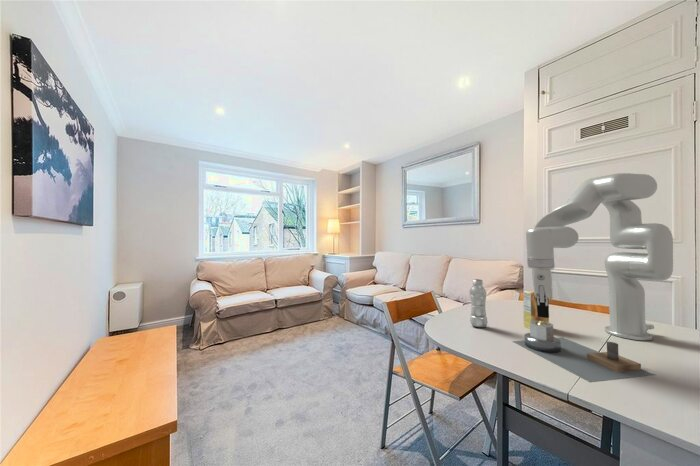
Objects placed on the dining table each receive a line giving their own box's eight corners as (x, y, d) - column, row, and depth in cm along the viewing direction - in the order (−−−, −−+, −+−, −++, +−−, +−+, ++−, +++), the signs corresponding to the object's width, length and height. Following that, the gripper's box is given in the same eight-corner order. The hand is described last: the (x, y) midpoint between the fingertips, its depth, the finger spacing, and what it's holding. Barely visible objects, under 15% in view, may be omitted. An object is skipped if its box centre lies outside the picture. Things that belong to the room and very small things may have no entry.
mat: (562, 338, 98) (562, 337, 98) (656, 376, 71) (656, 374, 71) (511, 342, 95) (511, 341, 95) (589, 383, 68) (589, 382, 68)
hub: (542, 340, 96) (541, 318, 96) (568, 352, 86) (568, 327, 86) (517, 342, 94) (517, 319, 94) (541, 354, 84) (541, 329, 84)
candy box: (540, 325, 112) (539, 289, 112) (550, 329, 108) (549, 291, 108) (523, 327, 110) (522, 291, 110) (532, 331, 106) (531, 293, 106)
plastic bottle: (487, 330, 107) (486, 281, 107) (469, 327, 111) (468, 280, 111) (488, 325, 112) (487, 279, 113) (471, 323, 116) (470, 278, 116)
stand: (609, 356, 82) (608, 337, 82) (641, 369, 74) (640, 347, 74) (587, 358, 81) (586, 339, 81) (617, 372, 73) (616, 350, 73)
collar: (553, 337, 90) (553, 322, 91) (553, 343, 85) (553, 328, 85) (531, 333, 94) (530, 319, 94) (530, 339, 89) (529, 324, 89)
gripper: (554, 266, 82) (557, 325, 82) (553, 261, 94) (556, 312, 94) (526, 265, 87) (529, 321, 87) (528, 261, 99) (531, 309, 98)
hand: (543, 316), depth 90 cm, fingers closed
